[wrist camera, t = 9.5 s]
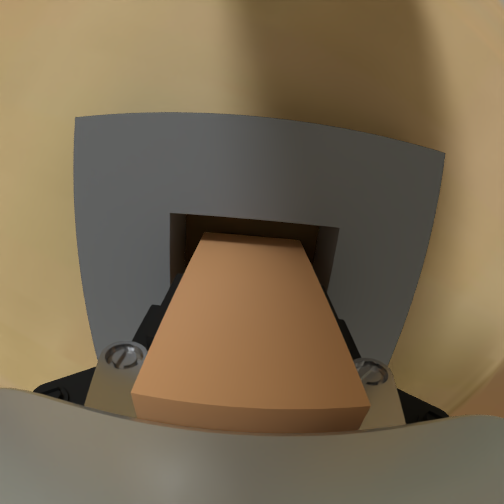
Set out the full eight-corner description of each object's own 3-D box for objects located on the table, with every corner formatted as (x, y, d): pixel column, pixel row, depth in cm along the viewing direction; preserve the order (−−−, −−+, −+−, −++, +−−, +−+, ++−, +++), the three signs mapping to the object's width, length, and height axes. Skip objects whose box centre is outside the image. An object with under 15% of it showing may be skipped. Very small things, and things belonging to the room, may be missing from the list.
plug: (204, 232, 13) (130, 392, 4) (299, 240, 13) (370, 406, 4) (202, 331, 14) (165, 502, 6) (283, 337, 15) (307, 509, 6)
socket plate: (108, 119, 12) (75, 117, 9) (410, 148, 12) (445, 153, 10) (125, 366, 17) (109, 400, 14) (350, 383, 17) (362, 418, 14)
